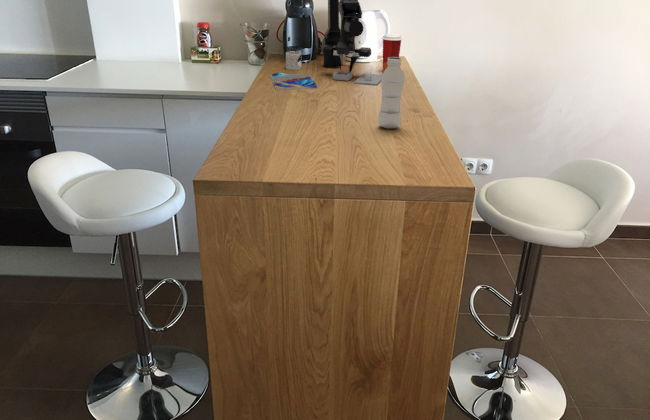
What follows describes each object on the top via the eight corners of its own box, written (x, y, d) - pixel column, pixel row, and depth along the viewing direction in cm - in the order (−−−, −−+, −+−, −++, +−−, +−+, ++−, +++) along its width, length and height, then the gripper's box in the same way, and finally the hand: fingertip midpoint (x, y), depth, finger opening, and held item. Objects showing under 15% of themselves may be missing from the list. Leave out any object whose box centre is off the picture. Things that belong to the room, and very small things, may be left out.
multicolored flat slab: (270, 76, 231) (270, 71, 230) (307, 76, 234) (307, 71, 233) (275, 91, 208) (275, 85, 208) (317, 90, 211) (317, 85, 210)
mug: (301, 70, 241) (301, 54, 238) (285, 70, 241) (285, 53, 238) (302, 66, 250) (302, 50, 247) (286, 65, 250) (286, 49, 247)
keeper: (353, 83, 221) (354, 68, 218) (363, 74, 236) (364, 60, 234) (376, 85, 219) (377, 70, 216) (385, 76, 234) (386, 62, 232)
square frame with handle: (341, 72, 238) (342, 62, 236) (356, 73, 237) (357, 63, 235) (332, 79, 225) (332, 69, 224) (348, 80, 224) (348, 70, 222)
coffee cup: (399, 70, 246) (402, 34, 240) (399, 74, 239) (402, 37, 233) (379, 69, 247) (382, 33, 241) (379, 73, 240) (381, 36, 233)
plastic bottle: (375, 124, 170) (380, 55, 162) (398, 124, 171) (403, 56, 163) (379, 131, 165) (384, 60, 156) (402, 131, 165) (408, 60, 157)
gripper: (319, 33, 220) (318, 74, 227) (366, 37, 216) (364, 78, 223) (327, 30, 230) (325, 69, 237) (372, 33, 226) (370, 73, 232)
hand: (345, 72), depth 232 cm, fingers closed on square frame with handle, 3 cm apart
